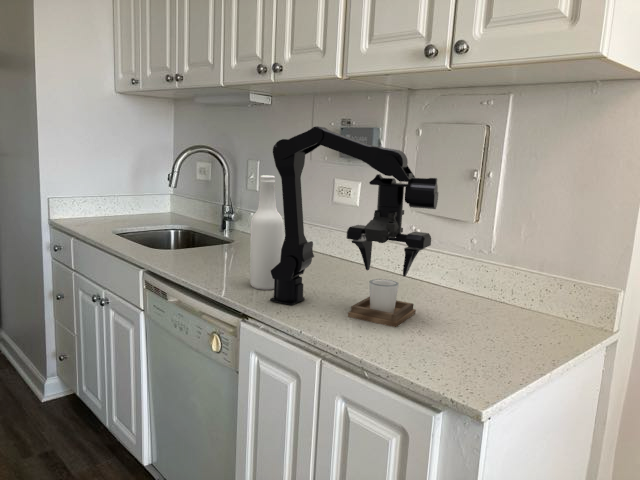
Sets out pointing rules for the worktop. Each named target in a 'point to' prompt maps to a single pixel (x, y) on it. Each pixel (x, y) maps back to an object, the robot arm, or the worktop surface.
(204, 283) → the worktop surface
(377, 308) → the white cup
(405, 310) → the walnut holder
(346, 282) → the worktop surface
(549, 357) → the worktop surface
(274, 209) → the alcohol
